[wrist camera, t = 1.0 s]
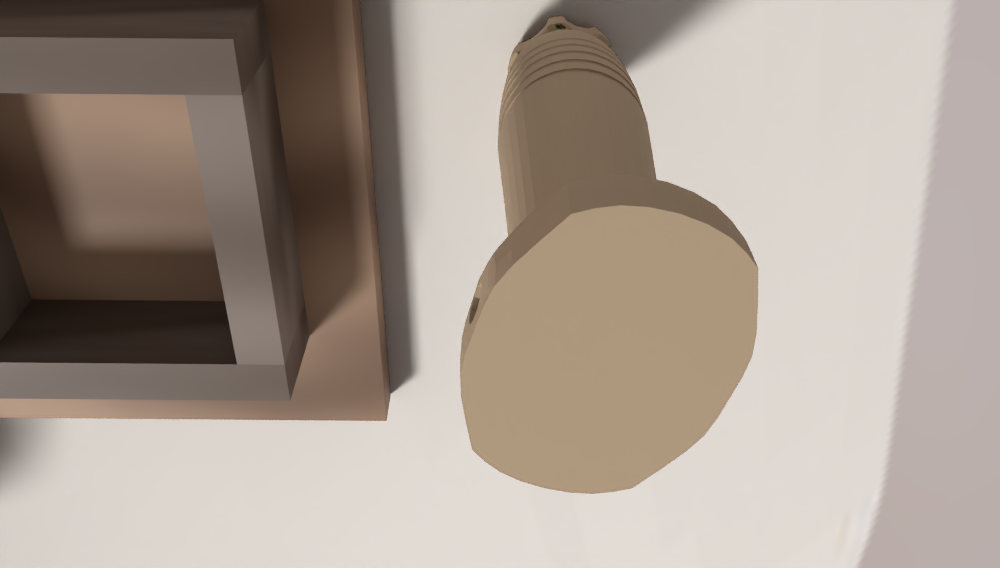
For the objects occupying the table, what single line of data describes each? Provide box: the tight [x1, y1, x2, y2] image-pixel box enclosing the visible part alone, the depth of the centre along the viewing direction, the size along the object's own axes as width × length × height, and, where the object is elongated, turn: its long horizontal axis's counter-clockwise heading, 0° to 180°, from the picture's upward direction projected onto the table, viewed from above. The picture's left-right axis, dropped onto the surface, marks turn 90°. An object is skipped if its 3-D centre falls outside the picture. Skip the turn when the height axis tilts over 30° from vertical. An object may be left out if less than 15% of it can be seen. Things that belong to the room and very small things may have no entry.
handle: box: [460, 16, 758, 494], centre depth 22 cm, size 5×6×15 cm
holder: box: [0, 0, 390, 421], centre depth 28 cm, size 20×16×5 cm
